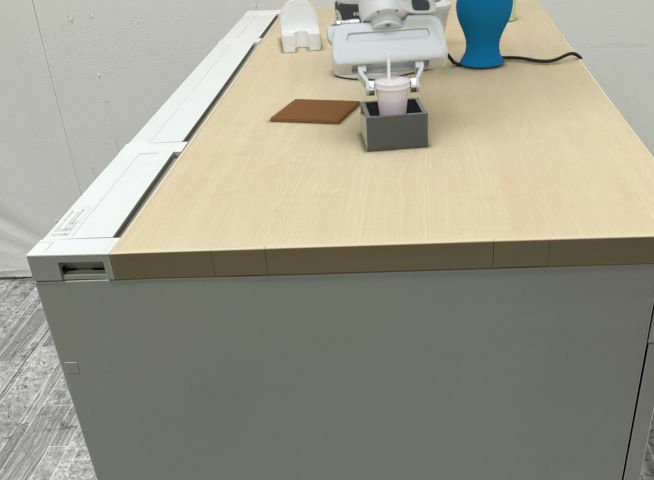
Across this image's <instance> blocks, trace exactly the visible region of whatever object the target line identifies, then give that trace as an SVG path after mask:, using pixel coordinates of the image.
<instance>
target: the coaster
mask: <svg viewBox="0 0 654 480" xmlns="http://www.w3.org/2000/svg"><path fill="white" fill-rule="evenodd" d="M360 102H361V101H360V100H346V99H345V100H344V99H343V100H342V99H340V100H339V99H308V98H295V99H293V100H292V101H291V102H290V103H288V104H287V105H285V106H284V107H282V109H281V110H279V111H278V112H276V113H275V114H274V115H272V116H271V117H270V122H282V123H283V122H284V123H309V124H310V123H311V124H334V125H335V124H337V125H339V124H340V123H341V122H342V121H343V120H345V119H346V118H347V116H349V115H350V114H351V113H352V112H353V111H354V110H356V108H357V107H358V106H359V105H360Z"/></svg>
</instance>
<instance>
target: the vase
mask: <svg viewBox="0 0 654 480" xmlns="http://www.w3.org/2000/svg"><path fill="white" fill-rule="evenodd" d="M512 8H513V0H456V2H455V13H456V17H457V21H458V23H459V25H460V27H461V30H462V32H463V35H464V39H465V50H464V53H463V55H462V57H461V58H460V60H459V63H460V64H461V65H463V66H462V67H466V68H470V69H491V68H497V67H499V66H502V65H503V64H504V63H505V60H504V59H503V57H502V56H503V55H502V53H501V50H500V42H501V38H502V35H503V33H504V32H505V29H506V27H507V25H508V23H509V22H510V21H509V19H510V16H511V13H512Z"/></svg>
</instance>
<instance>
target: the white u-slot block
mask: <svg viewBox="0 0 654 480" xmlns="http://www.w3.org/2000/svg"><path fill="white" fill-rule="evenodd" d="M279 29H280V40H281V45H282V50H283V53H296V52H297V51H296V49H298V48H308V50H309V51H311V52H313V51H320V50H322V41H321V40H322V39H321V38H322V37H321V32H320V29H319V19H318V14H317V12H316V10H315V7H314V6H313V4H312V3H311V2H309V1H308V0H288V1H286V2H285V3H284V4H283V6H282V7H281V10H280V13H279Z"/></svg>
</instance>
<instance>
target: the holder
mask: <svg viewBox="0 0 654 480" xmlns="http://www.w3.org/2000/svg"><path fill="white" fill-rule="evenodd" d="M359 105H360V107H359V108H360V127H361V130H360V131H361V136H362V138H363V142H364V145H365V149H366V151H367V152H376V151H391V150H392V151H393V150H402V149H415V148H428V147H429V113H428V111H427V110H426V108H425V106H424V104H423V102H422V101H421V99H420V98H419V97H417V96H416V97H408V101H407V111H406V114H395V115H382V116H380V115H379V107H378V100H367V101H360V104H359Z"/></svg>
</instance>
